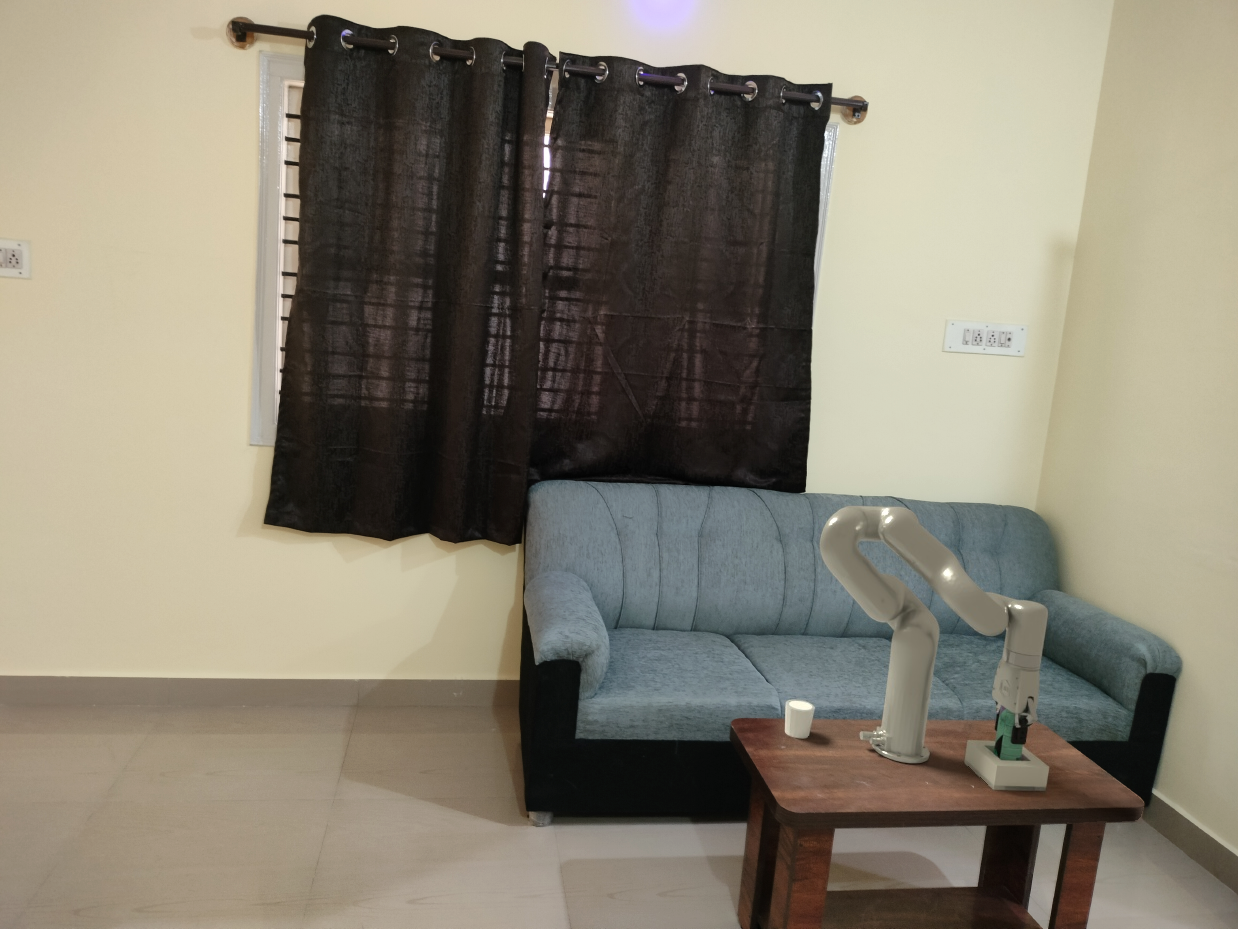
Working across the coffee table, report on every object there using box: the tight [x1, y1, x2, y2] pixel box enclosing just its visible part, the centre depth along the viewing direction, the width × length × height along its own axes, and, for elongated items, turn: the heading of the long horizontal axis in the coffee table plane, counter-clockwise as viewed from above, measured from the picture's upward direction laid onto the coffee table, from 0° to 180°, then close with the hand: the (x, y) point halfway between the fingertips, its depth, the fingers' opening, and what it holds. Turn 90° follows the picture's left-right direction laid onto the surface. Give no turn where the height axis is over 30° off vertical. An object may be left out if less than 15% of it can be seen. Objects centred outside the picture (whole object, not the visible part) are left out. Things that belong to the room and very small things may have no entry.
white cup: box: [784, 699, 816, 739], centre depth 202 cm, size 7×7×7 cm
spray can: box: [994, 705, 1026, 761], centre depth 187 cm, size 6×6×20 cm
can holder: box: [963, 739, 1050, 792], centre depth 189 cm, size 12×12×6 cm
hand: (1009, 736), depth 188 cm, fingers closed on spray can, 5 cm apart
